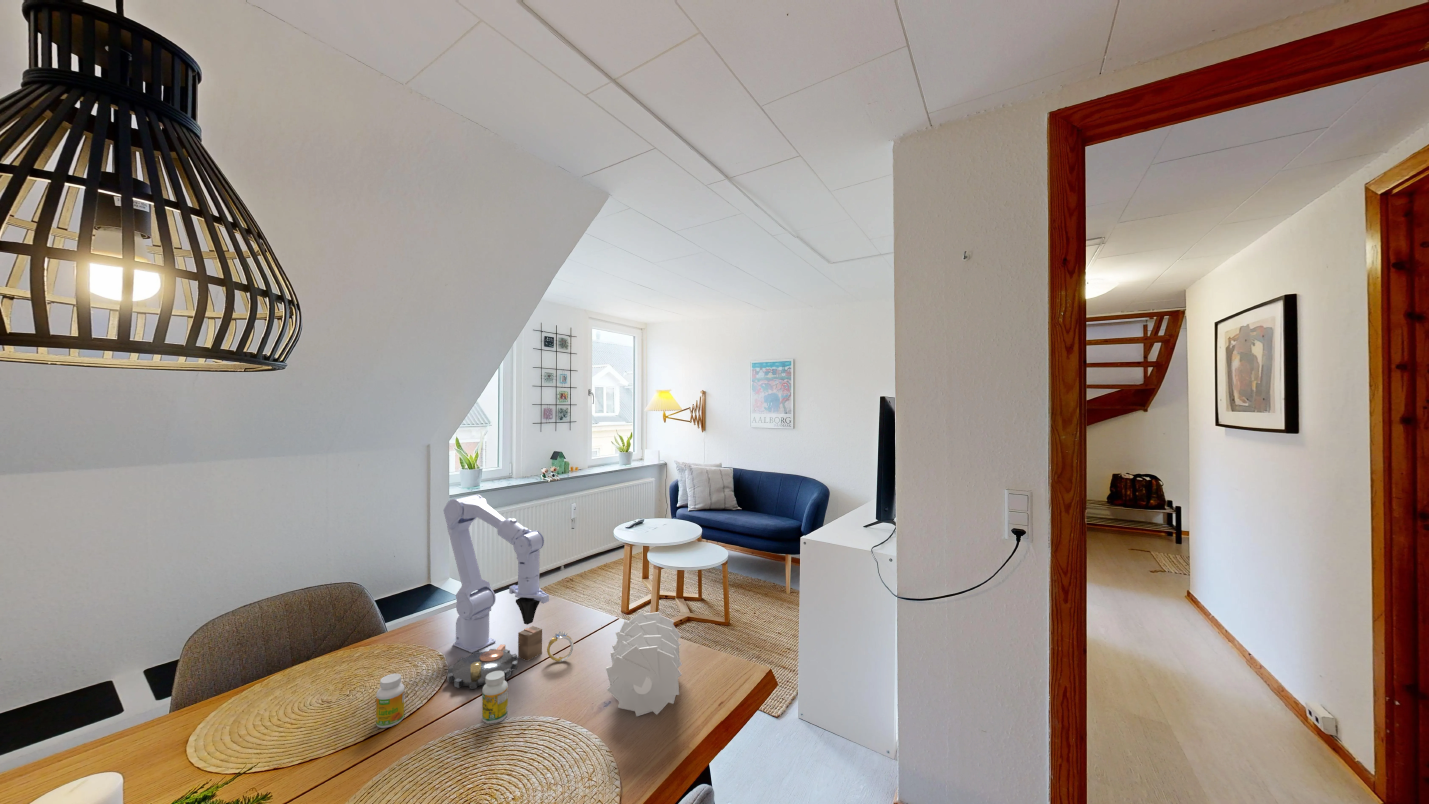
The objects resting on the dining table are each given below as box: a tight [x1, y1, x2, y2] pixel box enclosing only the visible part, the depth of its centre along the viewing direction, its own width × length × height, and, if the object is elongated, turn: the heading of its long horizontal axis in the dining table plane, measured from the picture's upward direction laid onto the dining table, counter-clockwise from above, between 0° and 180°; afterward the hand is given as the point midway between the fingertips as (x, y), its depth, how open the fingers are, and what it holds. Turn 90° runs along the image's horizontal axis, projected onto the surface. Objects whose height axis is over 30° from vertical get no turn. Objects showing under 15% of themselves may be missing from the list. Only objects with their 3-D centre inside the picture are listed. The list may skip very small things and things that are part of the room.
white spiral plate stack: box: [605, 611, 683, 717], centre depth 123 cm, size 18×18×25 cm
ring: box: [546, 630, 575, 663], centre depth 138 cm, size 7×3×8 cm, turn 98°
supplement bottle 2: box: [481, 671, 509, 724], centre depth 114 cm, size 5×5×10 cm
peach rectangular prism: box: [495, 644, 506, 651], centre depth 142 cm, size 3×1×2 cm, turn 0°
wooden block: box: [517, 625, 543, 662], centre depth 142 cm, size 4×5×7 cm
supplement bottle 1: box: [375, 673, 406, 729], centre depth 112 cm, size 5×5×10 cm
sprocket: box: [446, 648, 519, 690], centre depth 132 cm, size 17×17×5 cm
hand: (528, 622), depth 141 cm, fingers closed
